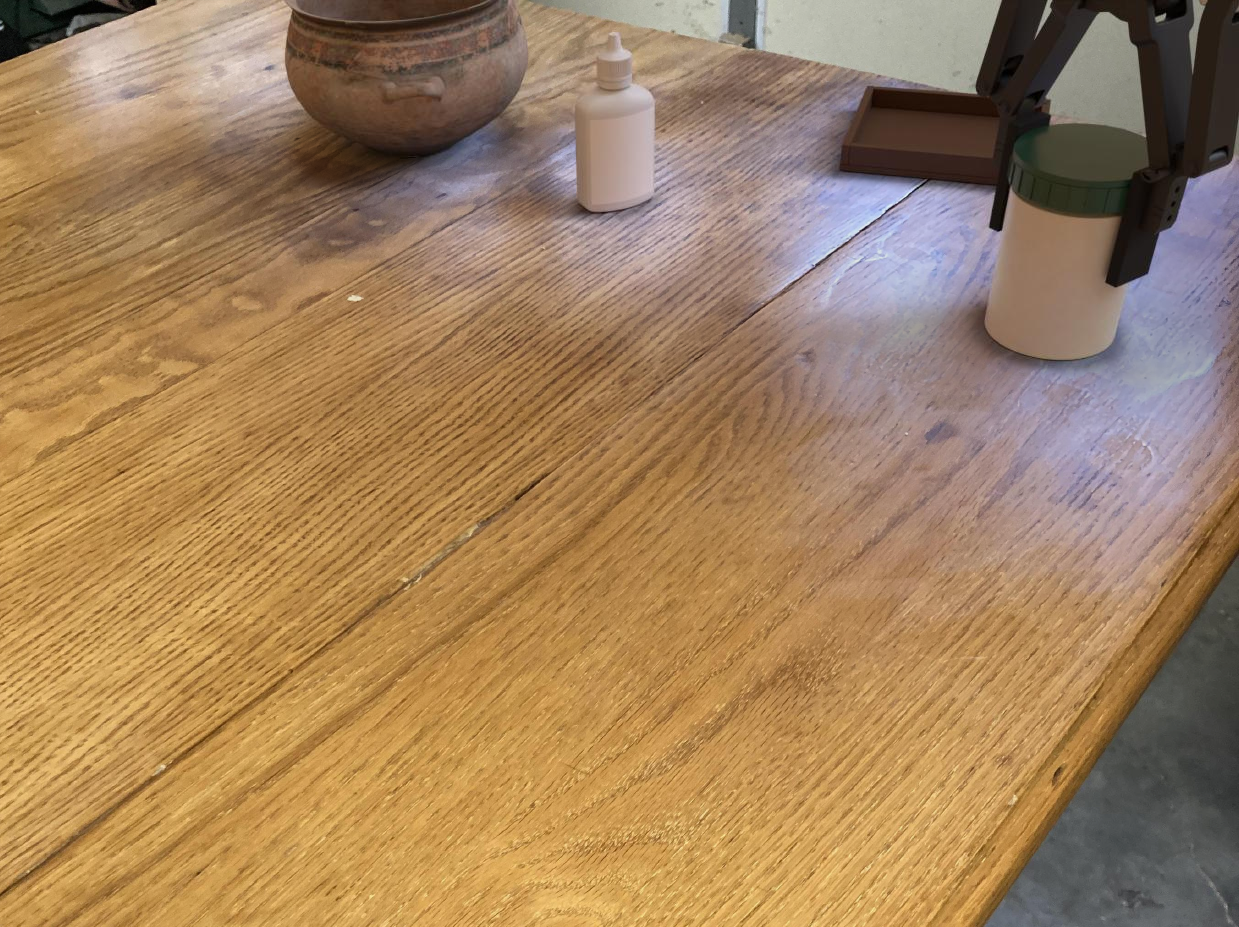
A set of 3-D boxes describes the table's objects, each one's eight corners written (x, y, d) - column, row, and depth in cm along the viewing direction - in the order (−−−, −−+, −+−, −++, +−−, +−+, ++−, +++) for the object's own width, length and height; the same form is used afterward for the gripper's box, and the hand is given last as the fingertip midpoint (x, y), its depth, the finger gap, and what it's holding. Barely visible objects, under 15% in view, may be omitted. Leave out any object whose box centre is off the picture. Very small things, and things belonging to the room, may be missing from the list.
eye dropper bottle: (653, 213, 95) (654, 44, 87) (575, 214, 96) (570, 45, 88) (654, 187, 99) (656, 22, 91) (579, 188, 99) (574, 23, 91)
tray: (1046, 124, 104) (1051, 99, 103) (1036, 189, 95) (1042, 162, 94) (864, 109, 108) (867, 85, 107) (839, 170, 99) (842, 144, 98)
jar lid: (1091, 144, 79) (1098, 112, 77) (1190, 196, 73) (1199, 162, 72) (978, 171, 77) (983, 139, 75) (1070, 226, 71) (1077, 193, 70)
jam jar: (1115, 305, 82) (1158, 140, 76) (1113, 368, 77) (1159, 196, 70) (989, 291, 85) (1020, 129, 78) (978, 351, 79) (1010, 183, 72)
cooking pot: (555, 192, 99) (547, 24, 91) (301, 220, 97) (271, 51, 89) (512, 75, 118) (502, -73, 110) (299, 96, 116) (274, -52, 108)
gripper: (1427, -168, 57) (1264, 300, 72) (1050, -231, 71) (978, 174, 86) (1320, -139, 54) (1173, 343, 69) (949, -210, 68) (892, 205, 83)
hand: (1065, 249), depth 77 cm, fingers closed on jar lid, 8 cm apart
